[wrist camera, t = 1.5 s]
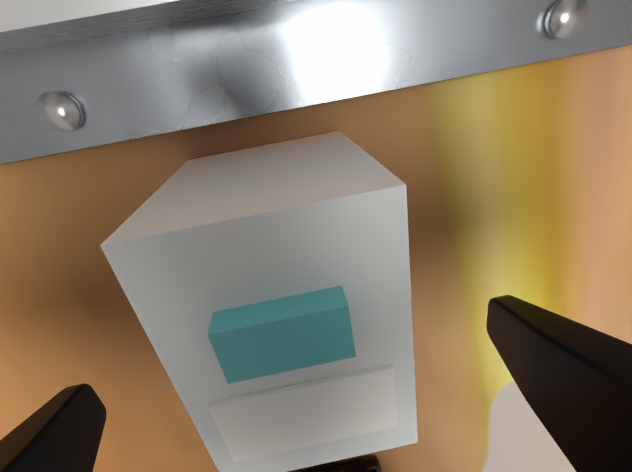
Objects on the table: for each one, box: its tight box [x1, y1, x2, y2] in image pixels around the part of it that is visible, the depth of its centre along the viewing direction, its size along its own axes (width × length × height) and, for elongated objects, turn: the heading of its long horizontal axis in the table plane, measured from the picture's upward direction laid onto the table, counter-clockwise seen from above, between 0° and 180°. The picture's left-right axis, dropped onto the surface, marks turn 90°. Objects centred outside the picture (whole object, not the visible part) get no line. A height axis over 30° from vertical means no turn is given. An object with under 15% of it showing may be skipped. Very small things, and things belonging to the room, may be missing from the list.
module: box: [100, 131, 418, 472], centre depth 9 cm, size 7×5×7 cm
